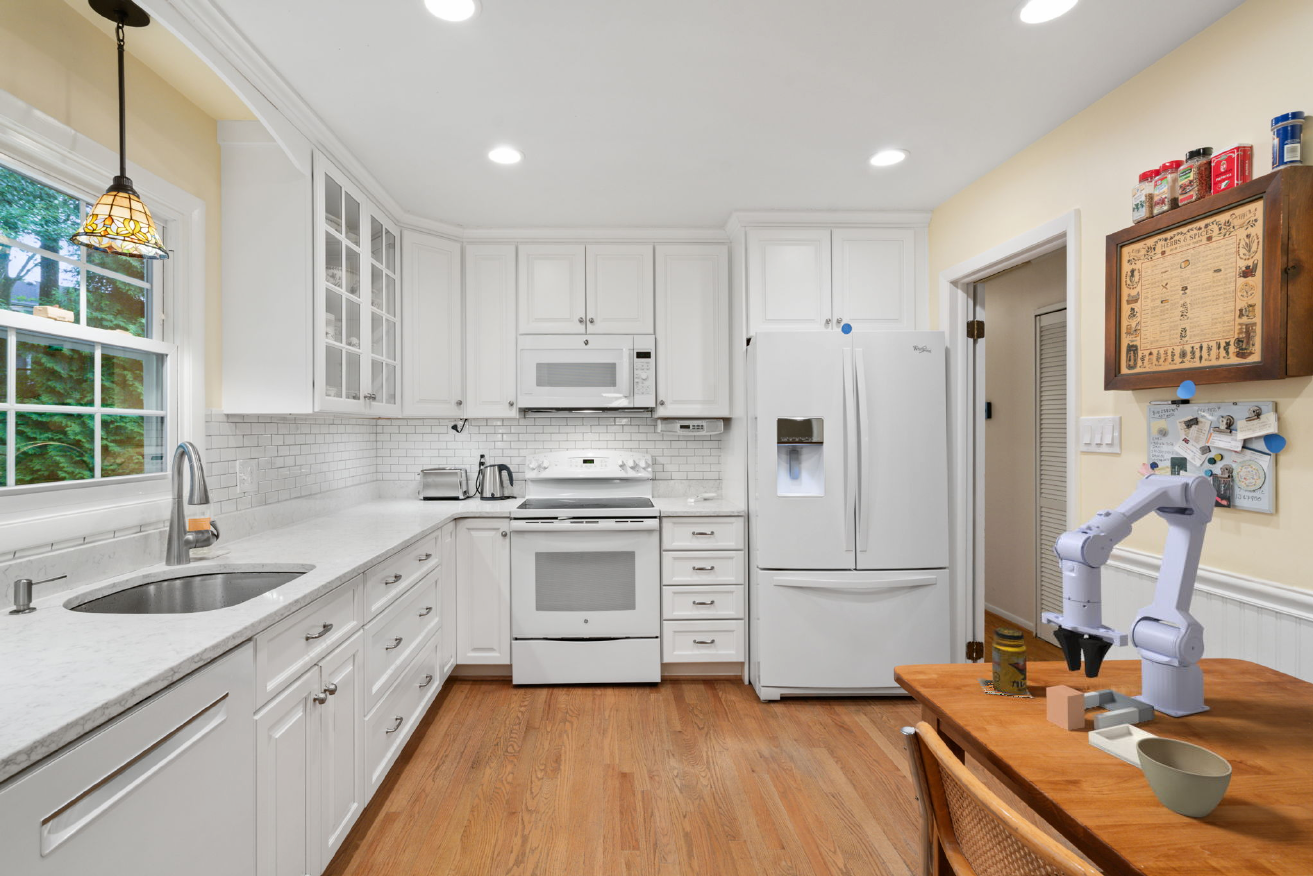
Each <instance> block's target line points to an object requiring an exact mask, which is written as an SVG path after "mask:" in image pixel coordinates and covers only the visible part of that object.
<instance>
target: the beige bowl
mask: <svg viewBox="0 0 1313 876" xmlns="http://www.w3.org/2000/svg"><path fill="white" fill-rule="evenodd" d="M1159 737H1160V736H1158V737H1149V738H1143V739H1140V740H1139V741H1137V743H1136V748H1137V754H1138V758H1139V761H1140V764H1141V767H1142V769H1141V770H1142V772H1143V775H1144V776H1145V779H1146V781H1147V783H1148V785H1149V787H1150V789H1151V790H1152V792H1153V794H1155V797H1156V798H1157V799H1158V801H1160V804H1162V805H1163V806H1164V807H1165V808H1167V809H1168V810H1171V811H1173V812H1175V813H1176V814H1177V813H1178V814H1179V815H1183V816H1185V817H1191V818H1204V817H1206V816H1208V815H1209V814H1210V813H1212V811H1214V810H1215V808H1216V807H1217V806H1218V805H1219V804H1220V803H1221V801H1222V799H1224V797H1225V794H1226V792H1227V791H1228V789H1229V785H1230V783H1231V779H1232V775H1233V774H1232V773H1233V767H1232V765H1231V764H1230V762H1229V761H1228V760H1227V759H1225V758H1224V757H1222V756H1220V755H1219V754H1217V753H1216V752H1213V751H1211V750H1209V749H1207V748H1205V747H1202V746H1200V745H1196V744H1194V743H1190V742H1186V741H1182V740H1178V739H1173V738H1167V737H1160V738H1159Z"/></svg>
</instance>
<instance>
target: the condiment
mask: <svg viewBox="0 0 1313 876" xmlns="http://www.w3.org/2000/svg"><path fill="white" fill-rule="evenodd" d="M993 633H994V634H993V641H992V643H991V653H992V654H991V657H992V658H991V662H992V666H991V667H992V674H991V675H992V679H986V678H979V677H978V678H977V681H978V683H979V685H980V686H981V689H982V691H983V692H984V693H985V692H988V693H987V694H991V695H998V696H999V695H1000V694H1002V693H1003V694H1002V695H1003V696H1005V695H1004V694H1009V695H1027V694H1028V695H1030V696H1029V697H1030V698H1029V699H1034V697H1033V696H1032V694H1031V693H1030V692H1029V690H1028V689H1027V686H1028V685H1027V684H1028V683H1027V681H1028V680H1027V679H1028V678H1027V677H1028V676H1027V674H1028V673H1027V671H1028V670H1027V647H1026V646H1025V645H1024V644H1025V641H1024V638H1025V636H1024V633H1023V632H1022V631H1020V630H1019V629H1015V628H1008V627H998V628H995V629H994V630H993ZM988 683H990V684H988ZM991 683H993V684H991ZM989 685H993V688H994V690H997V691H996V692H1002V693H995V691H994V690H993V691H986V689H985V688H986V687H982V686H989ZM983 688H984V689H983ZM989 688H992V687H989ZM984 690H985V691H984ZM987 690H990V689H987ZM1026 690H1027V691H1026ZM989 692H990V693H989ZM991 692H992V693H991ZM1000 696H1001V695H1000ZM1015 697H1016V698H1022V697H1027V696H1019V697H1018V696H1014V698H1015Z"/></svg>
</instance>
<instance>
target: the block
mask: <svg viewBox="0 0 1313 876" xmlns="http://www.w3.org/2000/svg"><path fill="white" fill-rule="evenodd" d="M1045 694H1046V721H1047V720H1048V723H1051V722H1052V723H1051V724H1052V725H1055V724H1056V725H1055V726H1057V727H1059V726H1060V727H1059V728H1062V729H1063V728H1064V730H1065V729H1067V730H1066V731H1068V732H1069V731H1073V730H1072V729H1074V730H1077V729H1078V728H1079V729H1082V728H1085V725H1086V724H1085V723H1086V720H1085V719H1086V717H1085V715H1086V714H1085V712H1086V709H1085V705H1084V692H1082V691H1079V690H1078V689H1077V690H1076V689H1075V688H1072V687H1070V686H1067V685H1065V684H1060V685H1055V686H1054V685H1052V686H1049V687H1046V693H1045Z"/></svg>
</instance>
